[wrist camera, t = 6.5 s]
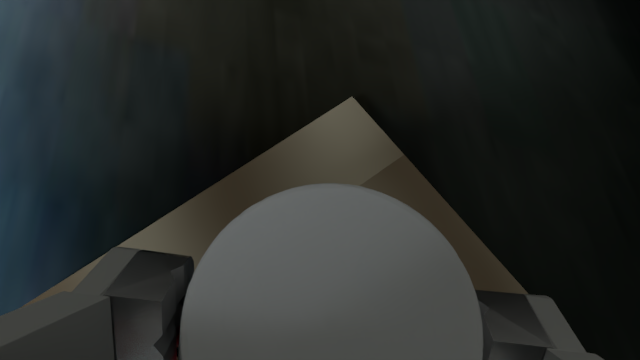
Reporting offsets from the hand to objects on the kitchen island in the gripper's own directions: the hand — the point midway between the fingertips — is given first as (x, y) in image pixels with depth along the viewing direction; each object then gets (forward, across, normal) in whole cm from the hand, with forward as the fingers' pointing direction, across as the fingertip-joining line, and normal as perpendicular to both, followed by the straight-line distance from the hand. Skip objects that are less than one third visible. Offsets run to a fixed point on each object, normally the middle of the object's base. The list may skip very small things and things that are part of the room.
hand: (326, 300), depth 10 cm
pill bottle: (+4, 0, -5) cm, 6 cm away
